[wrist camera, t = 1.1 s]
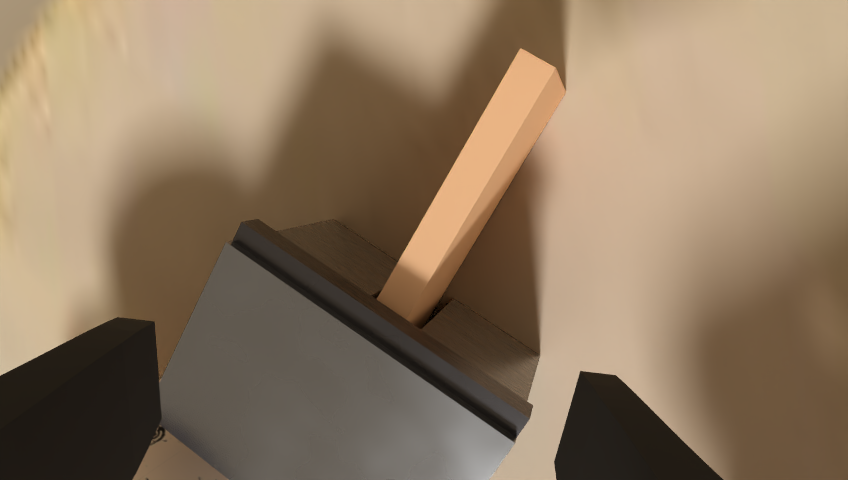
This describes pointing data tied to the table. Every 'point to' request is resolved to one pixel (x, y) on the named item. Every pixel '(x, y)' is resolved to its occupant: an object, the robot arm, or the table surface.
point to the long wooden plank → (473, 187)
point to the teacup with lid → (173, 461)
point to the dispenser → (337, 370)
